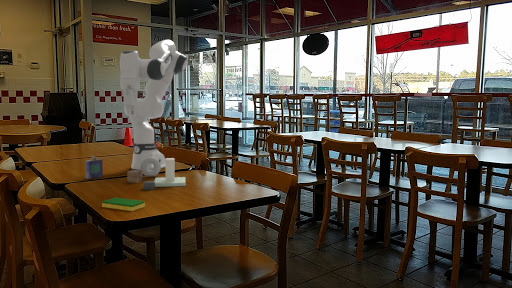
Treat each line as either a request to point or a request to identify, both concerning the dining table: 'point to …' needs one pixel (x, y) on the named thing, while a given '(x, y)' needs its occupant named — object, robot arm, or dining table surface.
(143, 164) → the donut
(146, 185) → the rubber puck
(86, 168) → the flask
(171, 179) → the tall block
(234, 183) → the dining table surface
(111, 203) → the dish sponge
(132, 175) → the walnut cube
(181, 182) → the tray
